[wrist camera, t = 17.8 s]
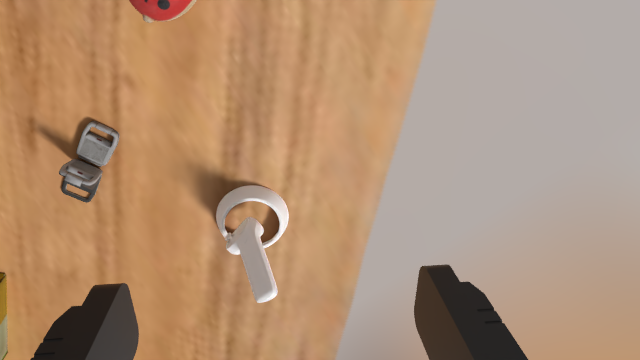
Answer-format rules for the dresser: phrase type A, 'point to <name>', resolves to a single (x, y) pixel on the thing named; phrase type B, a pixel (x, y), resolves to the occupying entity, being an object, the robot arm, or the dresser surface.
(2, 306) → the medication box
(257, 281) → the white vr controller
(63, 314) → the robot arm
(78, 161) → the strap clip
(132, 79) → the dresser surface
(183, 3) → the ladybug figurine
